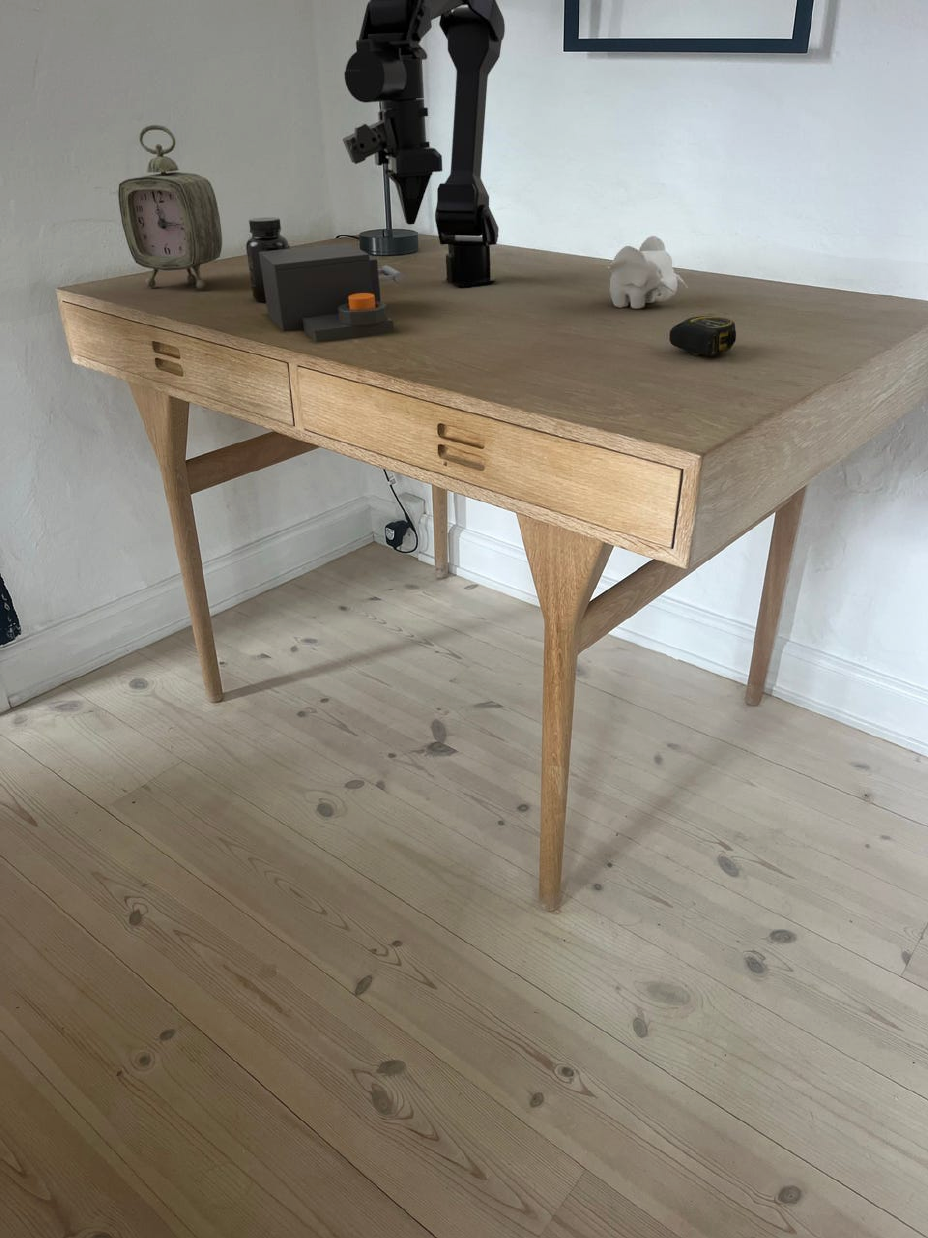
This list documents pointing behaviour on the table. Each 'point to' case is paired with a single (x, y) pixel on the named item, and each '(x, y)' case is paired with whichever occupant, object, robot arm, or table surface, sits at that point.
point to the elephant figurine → (642, 275)
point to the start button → (361, 301)
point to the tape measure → (704, 335)
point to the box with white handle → (386, 270)
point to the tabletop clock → (170, 217)
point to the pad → (349, 323)
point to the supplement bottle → (262, 249)
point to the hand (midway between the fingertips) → (410, 223)
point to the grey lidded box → (312, 281)
